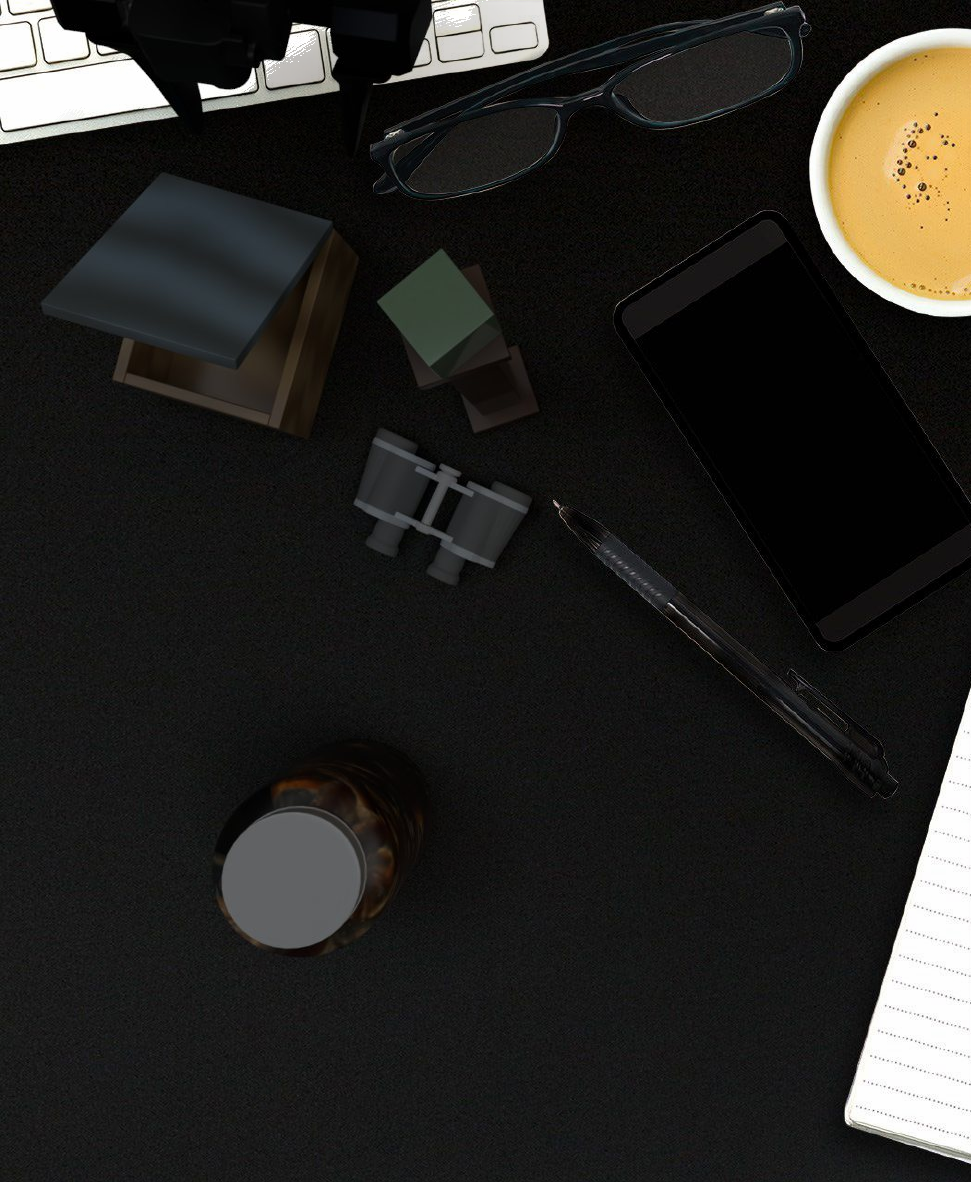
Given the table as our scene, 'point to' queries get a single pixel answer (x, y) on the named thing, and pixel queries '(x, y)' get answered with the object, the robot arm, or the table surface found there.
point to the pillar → (485, 375)
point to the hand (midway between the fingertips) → (275, 142)
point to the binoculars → (435, 507)
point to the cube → (441, 315)
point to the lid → (191, 270)
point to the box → (261, 355)
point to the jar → (322, 848)
